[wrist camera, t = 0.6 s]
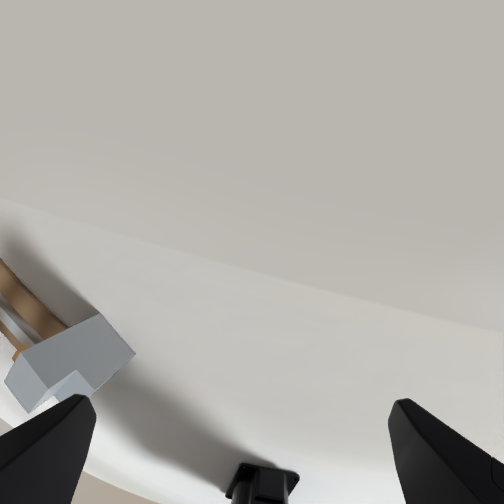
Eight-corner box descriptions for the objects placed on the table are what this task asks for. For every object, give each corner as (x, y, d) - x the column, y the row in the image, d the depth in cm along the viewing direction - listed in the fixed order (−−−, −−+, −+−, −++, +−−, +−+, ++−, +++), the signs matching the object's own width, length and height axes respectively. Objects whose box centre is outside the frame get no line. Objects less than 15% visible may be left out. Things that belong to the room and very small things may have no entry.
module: (135, 354, 25) (69, 413, 15) (110, 377, 26) (46, 435, 15) (95, 306, 25) (13, 342, 15) (73, 333, 26) (-3, 372, 15)
